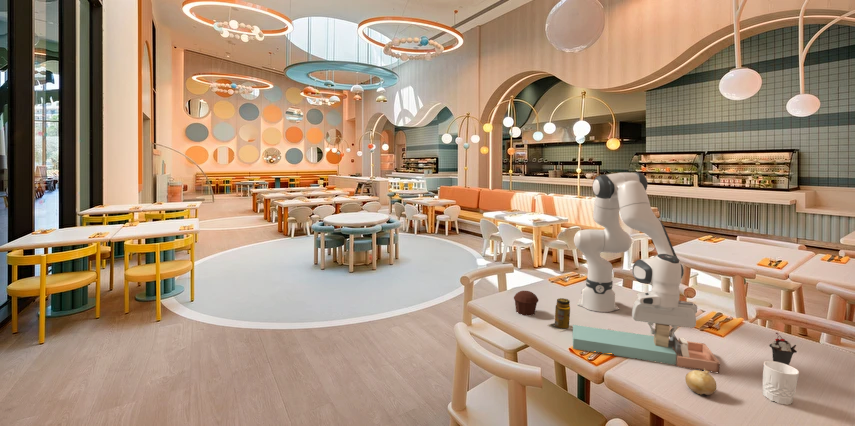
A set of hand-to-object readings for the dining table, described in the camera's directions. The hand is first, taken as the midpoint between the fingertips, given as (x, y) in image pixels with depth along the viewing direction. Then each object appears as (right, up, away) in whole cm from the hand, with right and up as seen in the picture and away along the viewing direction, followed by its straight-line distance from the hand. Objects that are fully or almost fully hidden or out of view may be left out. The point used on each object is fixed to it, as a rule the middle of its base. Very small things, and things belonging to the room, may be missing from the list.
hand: (661, 335), depth 144 cm
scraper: (+1, -4, 0) cm, 4 cm away
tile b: (+4, -5, -5) cm, 8 cm away
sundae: (+31, -10, -14) cm, 35 cm away
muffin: (-40, -2, +42) cm, 58 cm away
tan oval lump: (-2, -11, -23) cm, 25 cm away
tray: (+9, -8, -3) cm, 13 cm away
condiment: (-29, -5, +25) cm, 39 cm away
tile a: (+7, -5, 0) cm, 8 cm away
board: (-13, -7, +5) cm, 15 cm away
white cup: (+19, -11, -26) cm, 34 cm away
